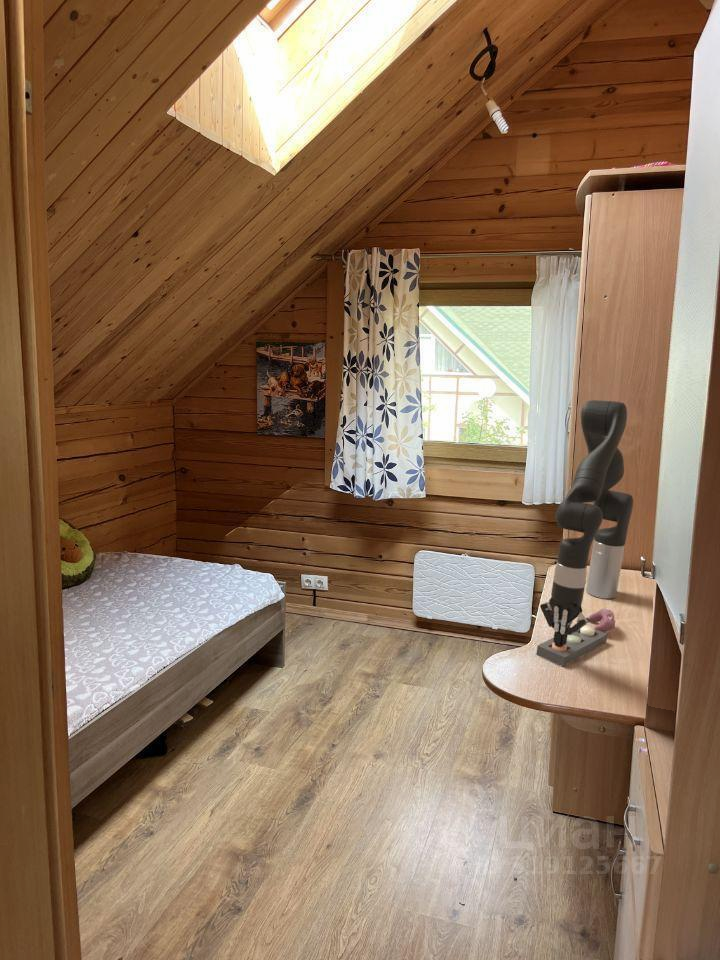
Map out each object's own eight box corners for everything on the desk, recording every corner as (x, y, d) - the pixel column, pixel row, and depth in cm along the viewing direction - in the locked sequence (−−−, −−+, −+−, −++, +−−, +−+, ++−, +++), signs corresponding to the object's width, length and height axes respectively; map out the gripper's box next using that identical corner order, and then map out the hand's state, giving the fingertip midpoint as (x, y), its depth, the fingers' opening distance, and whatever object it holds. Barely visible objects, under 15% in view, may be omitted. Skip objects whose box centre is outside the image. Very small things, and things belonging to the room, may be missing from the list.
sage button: (569, 642, 180) (571, 633, 180) (582, 647, 178) (583, 639, 177) (562, 645, 178) (564, 637, 177) (575, 651, 175) (576, 642, 175)
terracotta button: (555, 649, 175) (557, 640, 175) (568, 654, 173) (569, 646, 172) (548, 653, 173) (549, 644, 172) (560, 658, 170) (562, 650, 170)
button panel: (580, 632, 188) (581, 623, 187) (606, 642, 183) (607, 634, 182) (536, 654, 173) (537, 645, 172) (563, 666, 168) (564, 657, 167)
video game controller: (605, 642, 186) (620, 623, 184) (590, 633, 186) (606, 614, 184) (599, 627, 196) (614, 609, 194) (586, 618, 196) (600, 600, 194)
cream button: (583, 632, 185) (585, 624, 184) (596, 637, 182) (597, 629, 182) (576, 636, 182) (578, 627, 182) (589, 641, 180) (590, 632, 179)
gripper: (537, 575, 170) (528, 639, 174) (586, 593, 161) (575, 660, 165) (553, 569, 176) (544, 632, 180) (601, 586, 166) (590, 651, 170)
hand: (559, 645), depth 172 cm, fingers closed
